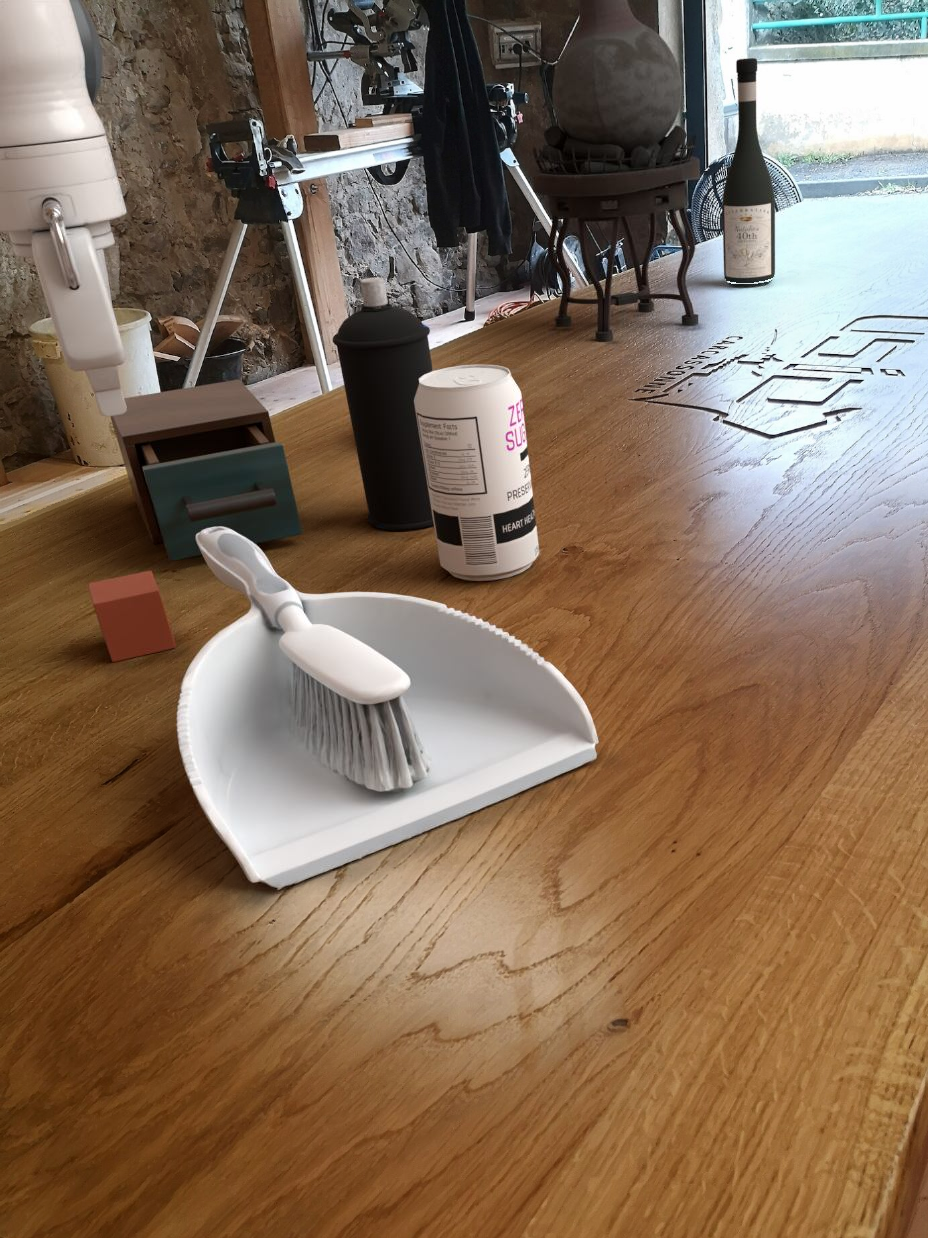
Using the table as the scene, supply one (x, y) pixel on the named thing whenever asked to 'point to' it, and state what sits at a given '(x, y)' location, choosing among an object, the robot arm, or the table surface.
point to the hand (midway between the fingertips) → (114, 411)
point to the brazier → (616, 150)
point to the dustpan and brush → (359, 719)
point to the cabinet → (181, 427)
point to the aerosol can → (387, 406)
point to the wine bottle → (748, 195)
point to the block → (131, 616)
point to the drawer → (219, 487)
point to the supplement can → (477, 471)
